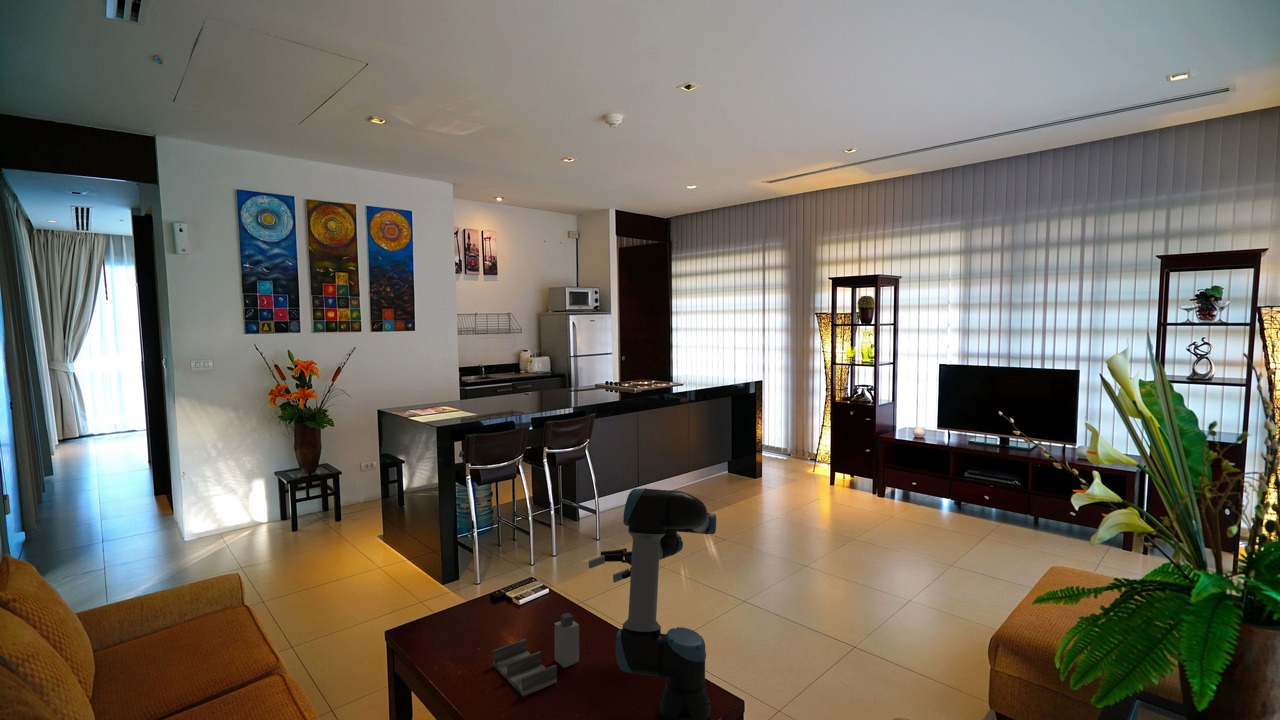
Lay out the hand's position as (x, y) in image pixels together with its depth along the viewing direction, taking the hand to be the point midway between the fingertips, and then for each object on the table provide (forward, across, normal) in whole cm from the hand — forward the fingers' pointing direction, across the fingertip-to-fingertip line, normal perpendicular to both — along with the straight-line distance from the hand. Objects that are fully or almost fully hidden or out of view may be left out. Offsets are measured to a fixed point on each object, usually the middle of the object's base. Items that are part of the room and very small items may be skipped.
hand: (601, 571), depth 208 cm
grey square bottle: (+12, +4, -30) cm, 32 cm away
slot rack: (+27, +7, -29) cm, 40 cm away
